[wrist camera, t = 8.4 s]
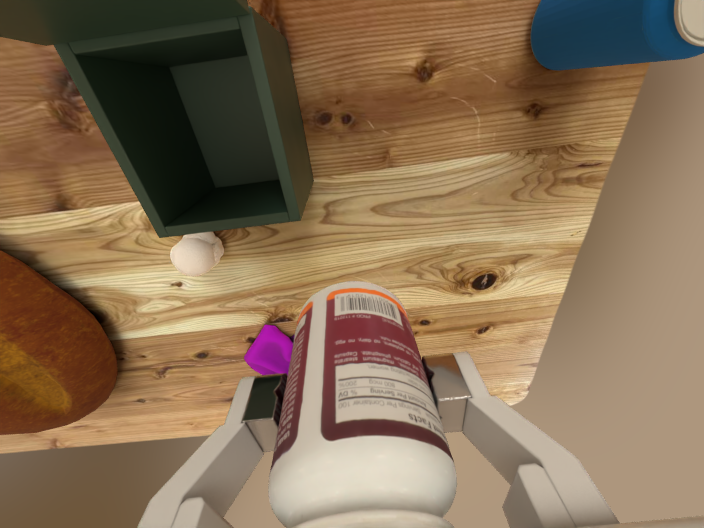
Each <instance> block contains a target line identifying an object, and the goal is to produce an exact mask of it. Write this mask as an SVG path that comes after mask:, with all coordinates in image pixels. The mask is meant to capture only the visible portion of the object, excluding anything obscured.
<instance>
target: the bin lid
mask: <svg viewBox="0 0 704 528" xmlns="http://www.w3.org/2000/svg"><path fill="white" fill-rule="evenodd" d="M246 14H250V11H249V6H248V2H247V0H0V37H4V38H9V39H14V40H20V41H25V42H30V43H35V44H40V45H46V46H47V45H53V44H59V43H66V42H72V41H79V40H85V39H92V38H98V37H105V36H111V35H117V34H124V33H130V32H137V31H143V30H150V29H156V28H163V27H169V26H176V25H182V24H188V23H195V22H201V21H208V20H214V19H221V18H227V17H234V16H240V15H246Z"/></svg>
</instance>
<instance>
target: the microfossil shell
mask: <svg viewBox="0 0 704 528" xmlns="http://www.w3.org/2000/svg"><path fill="white" fill-rule="evenodd" d="M223 254H224V247H223V246H222V242H221V240H220V239H219V238H218V237H217V236H216V237H215V234H214V233H213V232H204V233H196V234H188V235H184V236H183V238H182V240H181V241H180V242H178V243H177V244H176V245H175V246H173V248H172V249H171V252H170V258H171V261H172V263H173V265H174V266H175V267H176V269H177V270H179V271H180V272H181V273H183V274H185V275H188V276H200V275H203V274H205V273H207V272H208V271H210V270H211V269H212V267H214V266H215V265H217V264H218V263H219V261H220V257H222V256H223Z"/></svg>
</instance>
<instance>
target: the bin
mask: <svg viewBox="0 0 704 528" xmlns="http://www.w3.org/2000/svg"><path fill="white" fill-rule="evenodd" d="M249 11H250V14H246V15H240V16H234V17H227V18H221V19H214V20H208V21H201V22H195V23H188V24H182V25H176V26H169V27H163V28H156V29H150V30H143V31H137V32H130V33H124V34H117V35H111V36H105V37H98V38H92V39H85V40H79V41H72V42H66V43H59V44H53V45H54V46H55V48H56V50H57V52H58V54H59V55H60V57H61V59H62V61H63V63H64V65H65V66H66V68H67V70H68V72H69V74H70V76H71V77H72V79H73V81H74V83H75V85H76V87H77V88H78V90H79V92H80V94H81V96H82V98H83V99H84V101H85V103H86V105H87V107H88V108H89V110H90V112H91V114H92V116H93V118H94V119H95V121H96V123H97V125H98V127H99V129H100V130H101V132H102V134H103V136H104V138H105V140H106V141H107V143H108V145H109V147H110V149H111V151H112V152H113V154H114V156H115V158H116V160H117V161H118V163H119V165H120V167H121V169H122V171H123V172H124V174H125V176H126V178H127V180H128V182H129V183H130V185H131V187H132V189H133V191H134V193H135V194H136V196H137V198H138V200H139V202H140V203H141V205H142V207H143V209H144V211H145V213H146V214H147V216H148V218H149V220H150V222H151V224H152V225H153V227H154V229H155V231H156V233H157V235H158V236H159V238H162V237H169V236H170V237H172V236H180V235H188V234H196V233H204V232H212V231H220V230H228V229H236V228H244V227H253V226H261V225H269V224H277V223H285V222H293V221H300V220H301V218H302V215H303V212H304V209H305V206H306V203H307V200H308V197H309V194H310V191H311V188H312V185H313V181H314V180H313V174H312V169H311V164H310V159H309V154H308V148H307V143H306V138H305V133H304V128H303V122H302V117H301V112H300V107H299V102H298V96H297V91H296V86H295V81H294V76H293V70H292V65H291V60H290V55H289V50H288V44H287V39H286V38H285V37H284V36H283V35H282V34H280V33H279V32H278V31H277V30H276V29H275V28H274V27H273V26H272V25H270V24H269V23H268V22H267V21H266V20H265V19H264V18H263V17H262V16H260V15H259V14H258V13H257V12H256V11H255V10H254V9H253V8H252V7H250V6H249Z"/></svg>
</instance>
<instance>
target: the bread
mask: <svg viewBox="0 0 704 528" xmlns="http://www.w3.org/2000/svg"><path fill="white" fill-rule="evenodd" d="M116 378H117V359H116V355H115V352H114V348H113V346H112V344H111V342H110V341H109V339H108V337H107V335H106V334H105V332H104V330H103V329H102V327H101V325H100V324H99V322H98V321H97V320H96V318H95V317H94V315H93V314H91V313H90V312H89V311H88V310H87V309H86V308H85V307H84V306H83V305H82V304H81V303H80V302H79V301H78V300H76V299H75V298H73V297H72V296H70V295H69V294H67V293H66V292H64V291H63V290H61V289H60V288H59V287H57V286H56V285H54V284H53V283H51V282H50V281H49V280H47V279H46V278H44V277H43V276H41V275H40V274H39V273H37V272H36V271H34V270H33V269H32V268H30V267H29V266H27V265H26V264H25V263H23V262H22V261H20V260H18V259H16V258H14V257H12V256H10V255H8V254H7V253H5V252H3V251H1V250H0V435H6V434H24V433H37V432H41V431H45V430H49V429H53V428H57V427H61V426H65V425H68V424H71V423H73V422H75V421H78V420H80V419H81V418H83V417H85V416H86V415H88V414H90V413H91V412H93V411H95V410H96V409H97V408H98V407H99V406H101V405H102V404H103V403H104V402H105V401H106V400H107V399H108V397H109V396H110V394H111V392H112V390H113V388H114V386H115V383H116Z"/></svg>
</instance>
